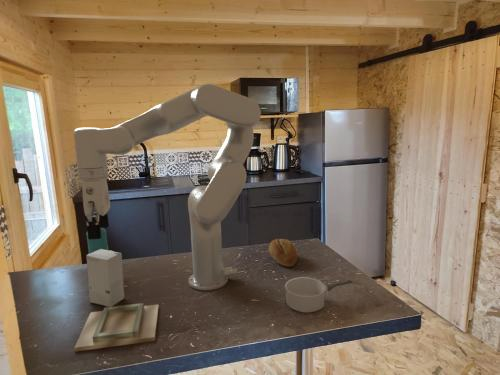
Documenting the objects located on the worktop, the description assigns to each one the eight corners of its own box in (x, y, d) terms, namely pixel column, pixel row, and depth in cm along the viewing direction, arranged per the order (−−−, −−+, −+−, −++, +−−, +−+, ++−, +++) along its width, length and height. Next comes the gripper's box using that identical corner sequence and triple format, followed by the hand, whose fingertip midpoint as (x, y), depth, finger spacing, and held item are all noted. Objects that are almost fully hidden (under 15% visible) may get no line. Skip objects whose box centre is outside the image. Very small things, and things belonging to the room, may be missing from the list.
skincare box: (89, 302, 101) (83, 255, 98) (105, 293, 106) (99, 247, 103) (111, 308, 98) (106, 259, 94) (126, 297, 103) (121, 251, 100)
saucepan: (361, 308, 95) (362, 289, 94) (292, 318, 91) (292, 299, 90) (341, 288, 106) (342, 271, 105) (279, 297, 102) (279, 279, 101)
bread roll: (277, 271, 118) (277, 249, 117) (263, 255, 133) (263, 235, 131) (303, 267, 121) (303, 246, 119) (286, 251, 135) (286, 232, 134)
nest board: (158, 307, 97) (158, 299, 97) (154, 340, 83) (153, 331, 82) (91, 315, 94) (90, 307, 93) (74, 351, 80) (73, 342, 79)
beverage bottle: (104, 279, 115) (97, 222, 111) (86, 277, 116) (79, 221, 112) (115, 270, 121) (109, 216, 117) (98, 269, 123) (92, 215, 119)
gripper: (100, 178, 86) (106, 242, 90) (113, 168, 103) (118, 223, 106) (68, 179, 85) (75, 244, 88) (86, 169, 102) (92, 224, 105)
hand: (99, 232), depth 97 cm, fingers open, 9 cm apart
